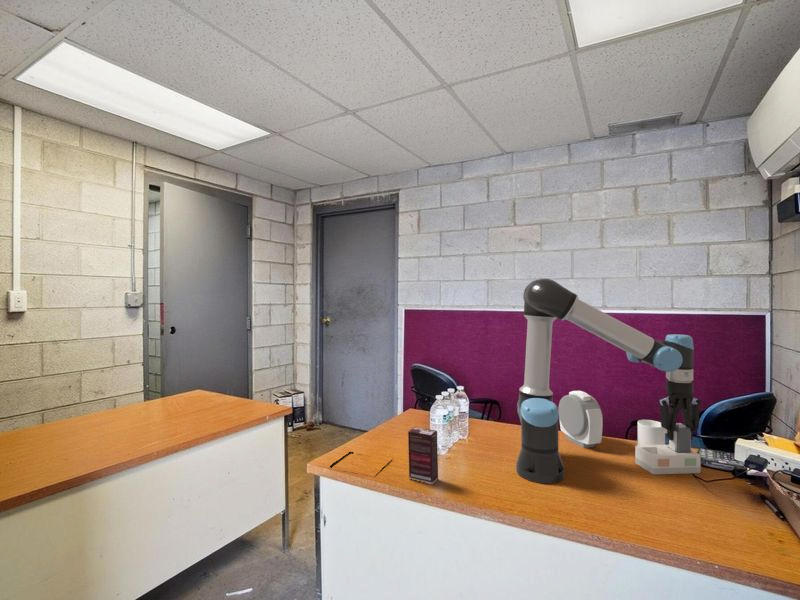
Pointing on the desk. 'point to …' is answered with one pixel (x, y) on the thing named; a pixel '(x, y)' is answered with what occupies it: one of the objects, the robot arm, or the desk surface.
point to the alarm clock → (581, 419)
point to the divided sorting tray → (666, 460)
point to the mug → (651, 433)
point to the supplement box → (423, 455)
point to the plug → (683, 438)
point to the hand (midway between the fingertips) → (679, 449)
